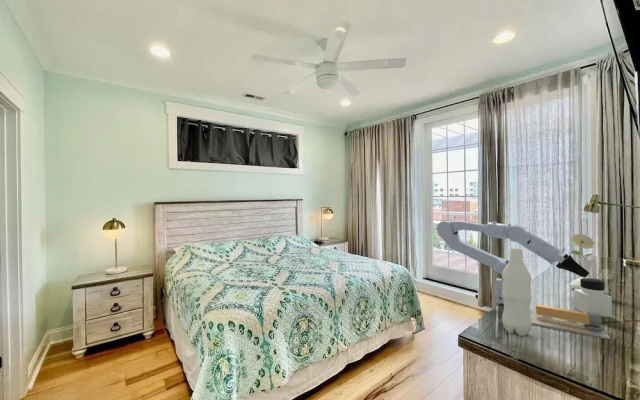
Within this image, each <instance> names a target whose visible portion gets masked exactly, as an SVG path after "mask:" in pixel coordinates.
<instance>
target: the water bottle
mask: <svg viewBox="0 0 640 400" xmlns="http://www.w3.org/2000/svg"><path fill="white" fill-rule="evenodd" d="M509 251H510V252H509V255H508V256H509V259H508V260H509V263H508V264H507V266H506V267H505V269H504V270H503V273H502V275H501V277H503V291H502V296H503V300H504V304H503V312H502V315H501V320H502V324H503V327H504V329H505V330H506V332H507V333H509V334H513V333H514V331H515V333H516V334H517V336H519V337H524V336H526V335H529V334H530V333H531V331H532V324H531V319H530V311H529V309H531V307H530V306H531V301H532V291H531V289H532V287H531V286H532V285H531V284H532V283H531V282H532V276H531V273H530V272H529V271H530V270H529V269H528V268H527V266H526V264H525V262H524V259H523V258H525V257H524V254H523V249H521V248H515V247H512V248H510V250H509Z"/></svg>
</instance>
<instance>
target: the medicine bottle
mask: <svg viewBox="0 0 640 400" xmlns="http://www.w3.org/2000/svg"><path fill="white" fill-rule="evenodd" d="M580 288H581V289H574V288H573V308H574V309H575V310H576V311H579V312H586V313H587V312H592V313H597V314H599V315H601V316H602V317H601V318H612V317H613V297H612V296H610V295H608V294H606V293H605V292H604V288H605V282H604V281H603V280H601V279H598V278H594V277H592V278H581V279H580Z"/></svg>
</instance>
